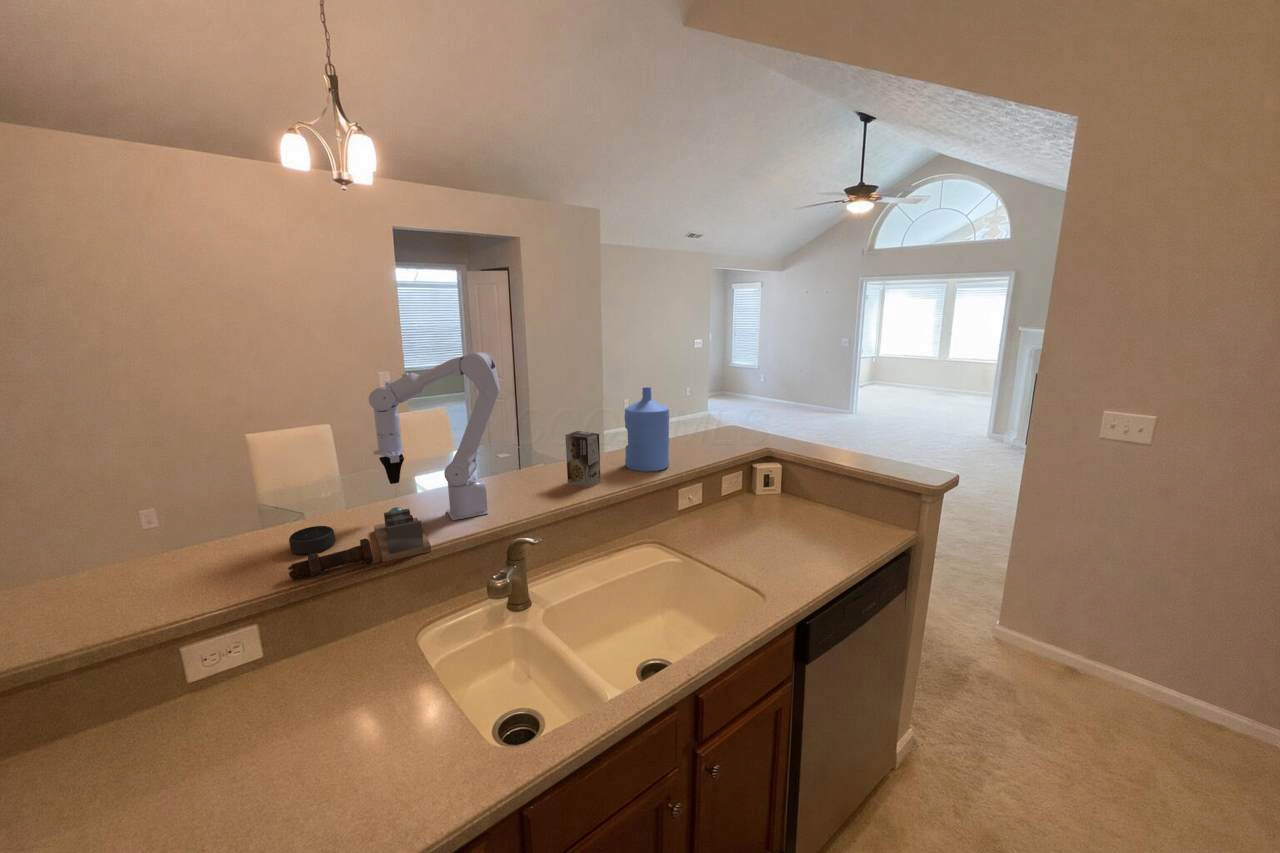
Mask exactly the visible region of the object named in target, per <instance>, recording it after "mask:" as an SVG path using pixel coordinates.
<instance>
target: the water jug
mask: <svg viewBox="0 0 1280 853" xmlns="http://www.w3.org/2000/svg"><path fill="white" fill-rule="evenodd" d="M641 389H642V392H641V394H642V398H641V399H640V400H639V401H637V402H635V403H633V404H631V405H629V406H627V407H625V409H624V429H626V431H627V445H625V448H624V449H625V460H624V465H625V467H626V468H628V469H629V470H631V471H635V472H640V471H641V473H650V472H651V471H654V472H660V471H663V470H666V469H667V468H668V467H669V465H670V409H669V407H668V406H665V405H663V404H661V403H659V402H657V401H655V400H653V398H652V387H650V386H649V387H642V388H641ZM665 468H666V469H665ZM659 470H660V471H659ZM651 473H652V472H651Z"/></svg>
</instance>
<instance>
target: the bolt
mask: <svg viewBox="0 0 1280 853" xmlns="http://www.w3.org/2000/svg"><path fill="white" fill-rule="evenodd" d="M359 543H360V544H359V545H357V546H353V547H350V548H346V549H344V550H339V551H335V552H331V553H328V554H326V555H321V556H319V554H318V553H314V554H308V555H307V559H306V560H302V561H298V562H294V563H291V565H290V566H288V567H287V570H289V572H288V575H289V579H292V580H294V579H298V578H301V577H307V576H310V577H311V578H313V579H314V578H317V577H321V576H322V575H323V572H324V571H327V570H333V569H336V568H340V567H343V566H346V565H351V564H353V563H354V564H356V563H357V564H358V563H360V562H364V565H365V566H368V565H371V564H373V562H374V557H373V551H372V547H371V543H370V540H369V539H368V538H366V537H365V538H363V539H359Z"/></svg>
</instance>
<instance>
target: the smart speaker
mask: <svg viewBox="0 0 1280 853" xmlns="http://www.w3.org/2000/svg"><path fill="white" fill-rule="evenodd" d="M335 535H336V534H335V530H334V529H333V528H332V527H330V526H327V525H316V526H315V525H314V526H310V527H305V528H303V529H299V530H297V531H294V533H292V534H291V535H290V536H289V539H288V543H289V549H290V552H292V553H293V554H295V555H302V556H303V555H304V556H306V555H307V556H308V555H310V554H314V553H316V554H318V553H321V552H324V551H326V550H328V549H330V548H331V547H332V546H334V544H335V543H336V537H335Z"/></svg>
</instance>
